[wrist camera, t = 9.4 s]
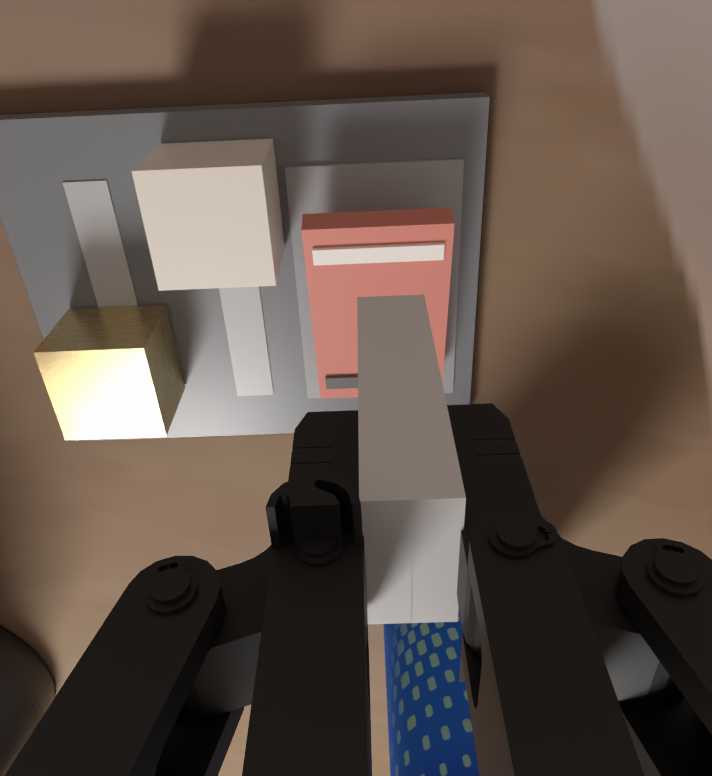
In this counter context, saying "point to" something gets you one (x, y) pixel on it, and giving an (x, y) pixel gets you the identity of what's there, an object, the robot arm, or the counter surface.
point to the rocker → (372, 279)
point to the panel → (297, 197)
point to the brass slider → (112, 372)
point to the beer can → (427, 701)
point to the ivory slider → (212, 214)
